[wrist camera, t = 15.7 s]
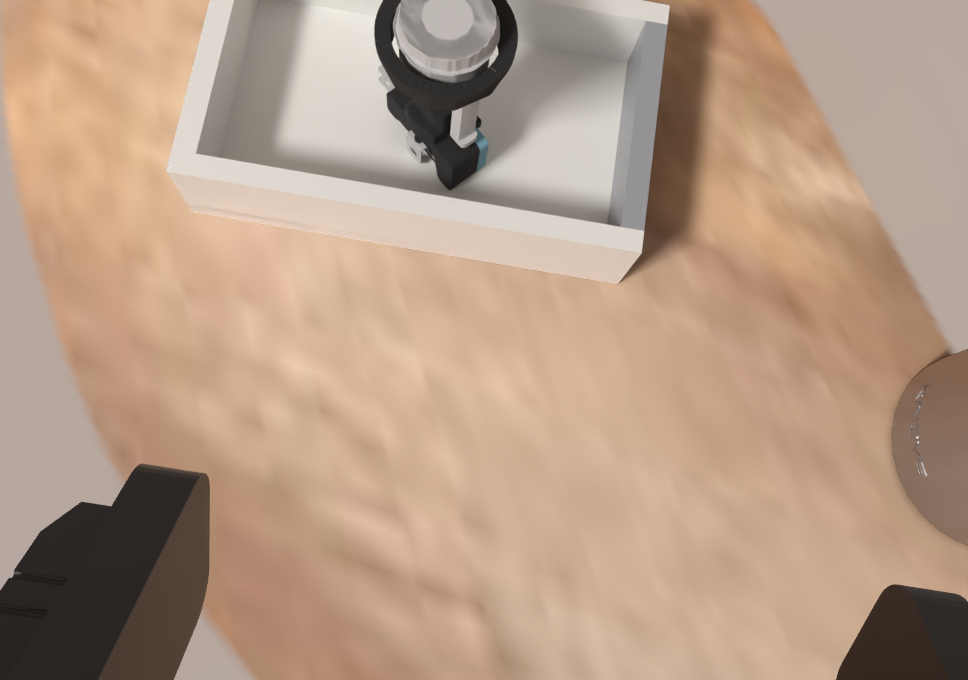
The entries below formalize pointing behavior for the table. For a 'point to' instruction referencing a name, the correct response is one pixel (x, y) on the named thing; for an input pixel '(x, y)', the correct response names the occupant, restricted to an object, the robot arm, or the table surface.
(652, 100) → the tray
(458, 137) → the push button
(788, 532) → the table surface
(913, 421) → the robot arm
